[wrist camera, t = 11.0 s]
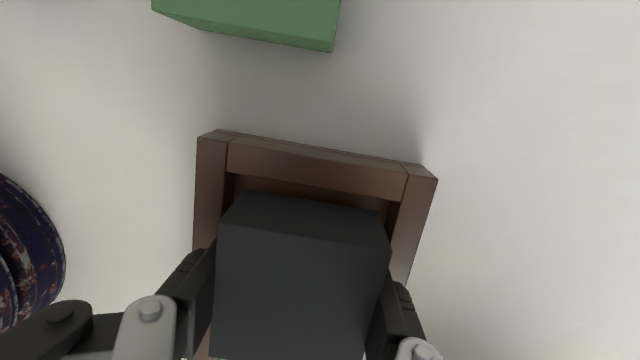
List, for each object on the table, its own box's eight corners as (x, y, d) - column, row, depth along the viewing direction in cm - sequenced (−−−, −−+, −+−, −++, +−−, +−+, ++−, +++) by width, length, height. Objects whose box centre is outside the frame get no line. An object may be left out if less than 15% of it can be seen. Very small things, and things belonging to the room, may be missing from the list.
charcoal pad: (378, 210, 12) (393, 251, 9) (351, 317, 14) (356, 381, 11) (245, 187, 12) (217, 221, 9) (234, 298, 14) (207, 357, 11)
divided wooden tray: (423, 165, 13) (439, 179, 11) (346, 430, 19) (348, 471, 17) (216, 128, 13) (196, 136, 11) (198, 407, 19) (183, 446, 17)
